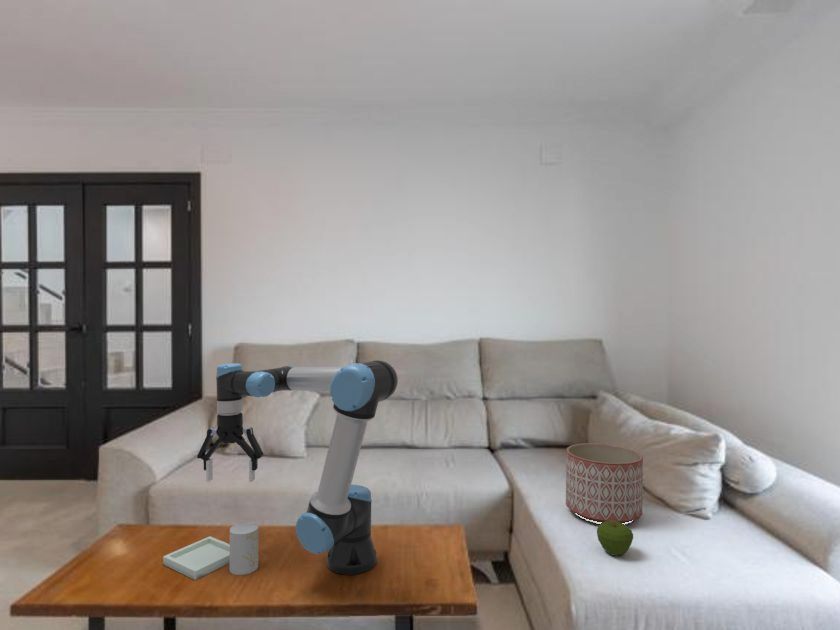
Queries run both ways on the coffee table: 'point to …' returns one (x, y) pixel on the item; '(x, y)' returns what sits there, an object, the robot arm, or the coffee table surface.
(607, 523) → the apple
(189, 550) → the tray
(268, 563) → the coffee table surface
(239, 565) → the cup
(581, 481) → the planter
